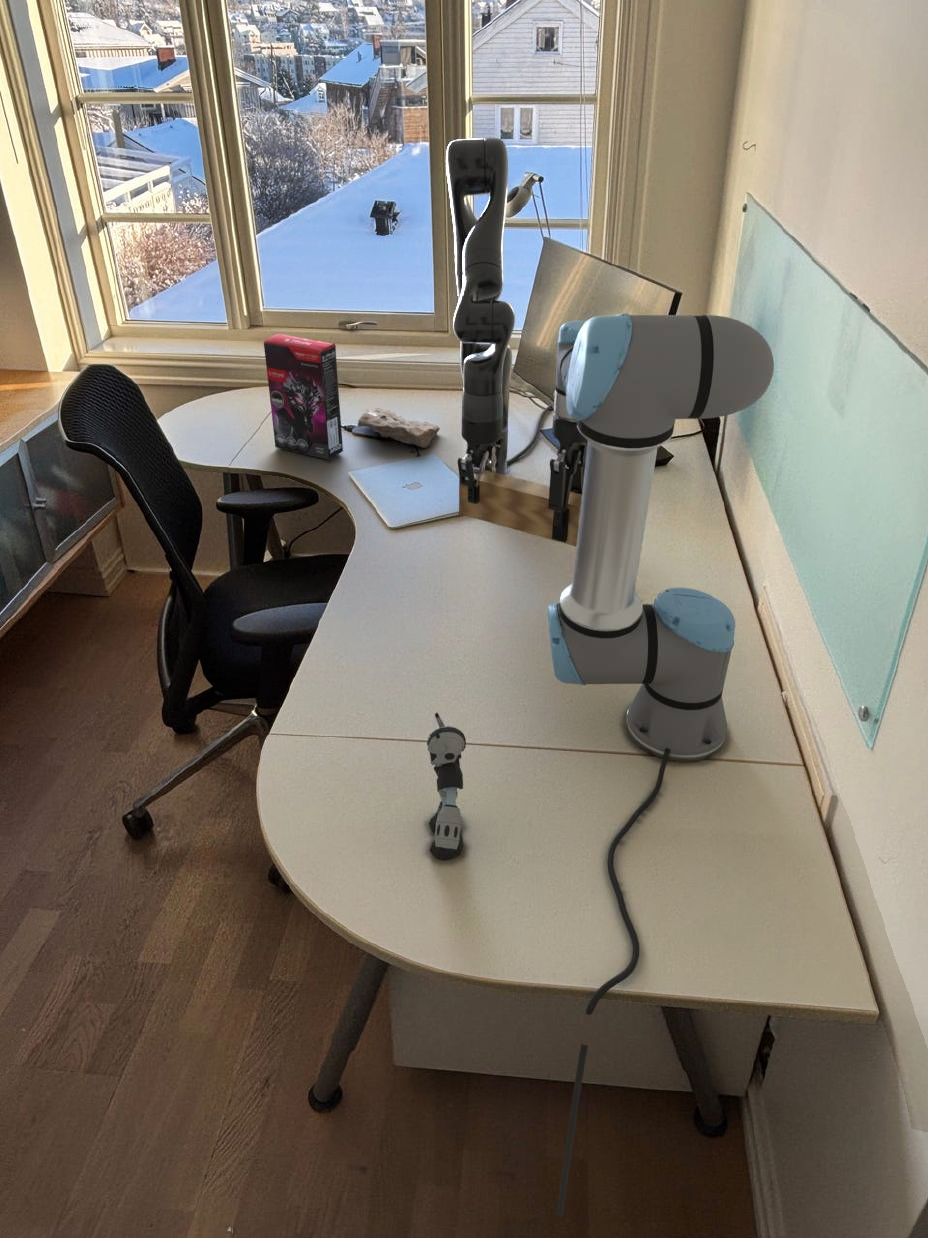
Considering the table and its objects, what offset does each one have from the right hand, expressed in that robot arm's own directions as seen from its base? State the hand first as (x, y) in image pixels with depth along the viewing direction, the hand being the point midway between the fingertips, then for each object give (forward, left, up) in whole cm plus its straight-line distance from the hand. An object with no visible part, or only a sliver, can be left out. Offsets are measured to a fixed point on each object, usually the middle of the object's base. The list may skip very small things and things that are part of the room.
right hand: (565, 533), depth 172 cm
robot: (-68, +3, -12) cm, 69 cm away
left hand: (+5, +18, +3) cm, 19 cm away
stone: (+60, +54, -12) cm, 82 cm away
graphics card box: (+46, +72, -12) cm, 86 cm away
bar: (+2, +9, -1) cm, 9 cm away
